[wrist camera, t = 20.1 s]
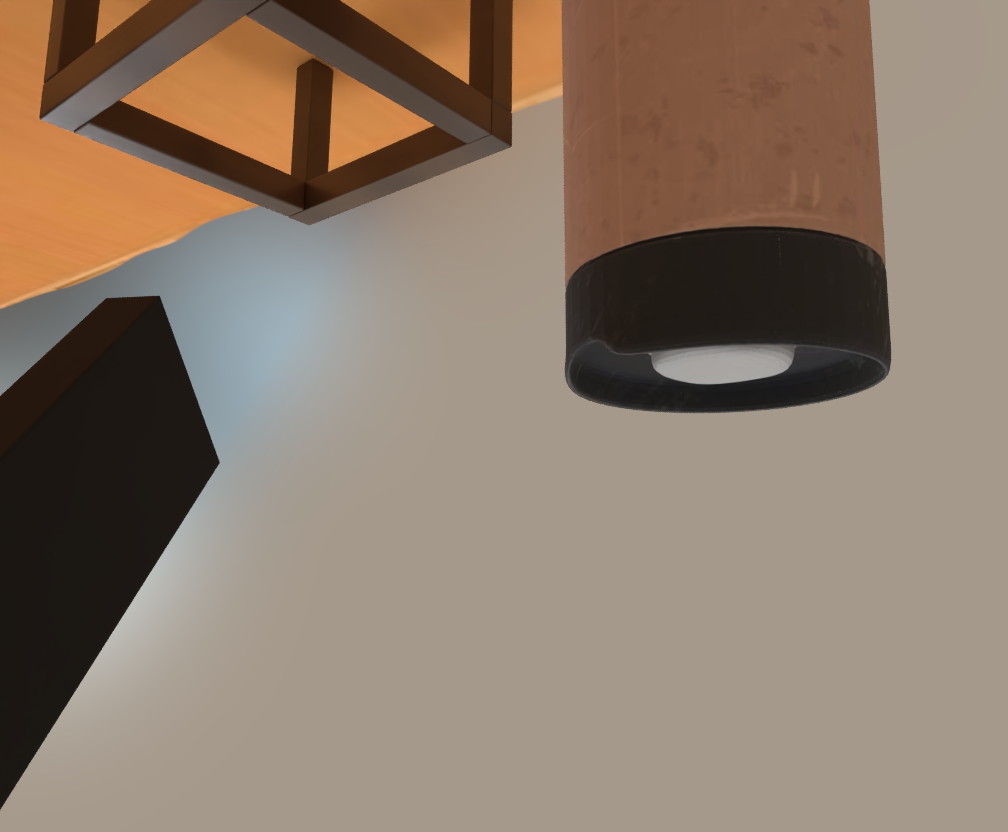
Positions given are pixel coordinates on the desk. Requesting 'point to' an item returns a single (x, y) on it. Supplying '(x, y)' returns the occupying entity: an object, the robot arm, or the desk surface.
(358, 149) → the desk surface
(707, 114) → the travel mug
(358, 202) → the rack
